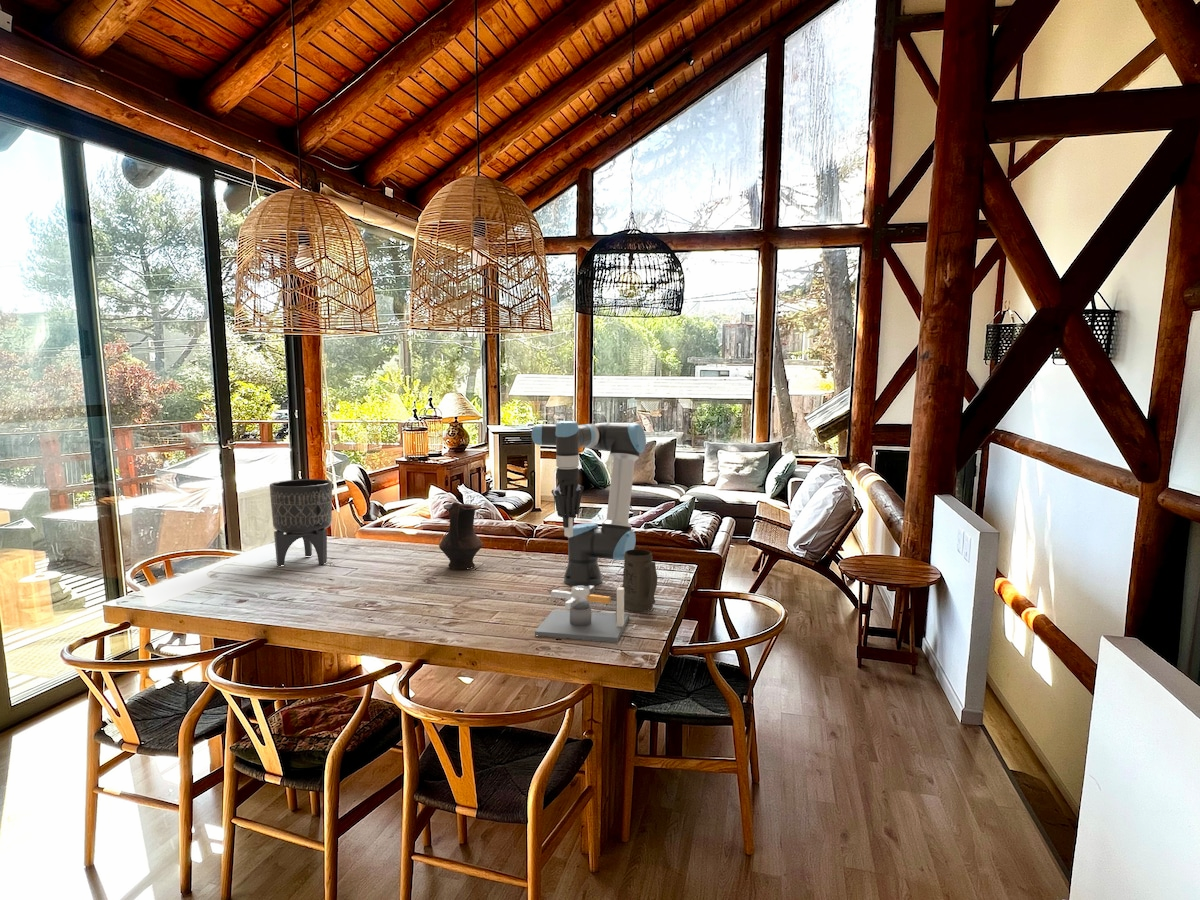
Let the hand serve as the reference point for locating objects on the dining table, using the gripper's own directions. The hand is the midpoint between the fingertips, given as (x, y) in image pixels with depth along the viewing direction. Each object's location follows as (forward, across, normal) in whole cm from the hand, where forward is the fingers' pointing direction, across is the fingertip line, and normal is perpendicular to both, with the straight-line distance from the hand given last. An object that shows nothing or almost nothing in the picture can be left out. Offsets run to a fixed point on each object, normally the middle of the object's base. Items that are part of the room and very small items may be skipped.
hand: (568, 536), depth 230 cm
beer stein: (+28, -22, +14) cm, 38 cm away
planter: (+27, +38, -132) cm, 140 cm away
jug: (+28, -6, -76) cm, 82 cm away
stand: (+27, +7, +13) cm, 30 cm away
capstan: (+20, +7, +13) cm, 24 cm away
